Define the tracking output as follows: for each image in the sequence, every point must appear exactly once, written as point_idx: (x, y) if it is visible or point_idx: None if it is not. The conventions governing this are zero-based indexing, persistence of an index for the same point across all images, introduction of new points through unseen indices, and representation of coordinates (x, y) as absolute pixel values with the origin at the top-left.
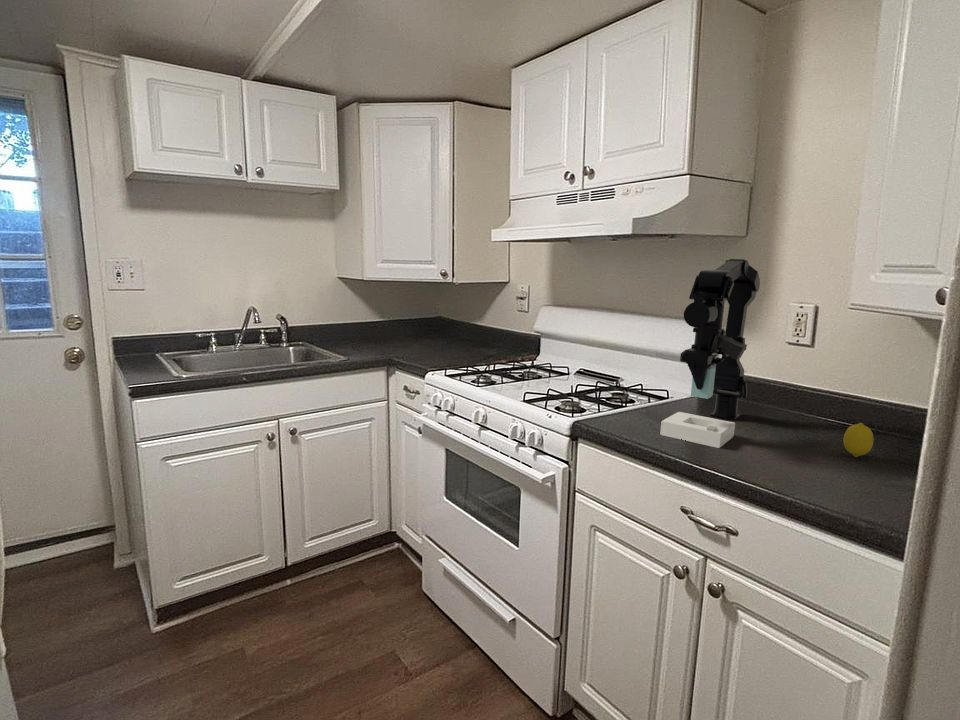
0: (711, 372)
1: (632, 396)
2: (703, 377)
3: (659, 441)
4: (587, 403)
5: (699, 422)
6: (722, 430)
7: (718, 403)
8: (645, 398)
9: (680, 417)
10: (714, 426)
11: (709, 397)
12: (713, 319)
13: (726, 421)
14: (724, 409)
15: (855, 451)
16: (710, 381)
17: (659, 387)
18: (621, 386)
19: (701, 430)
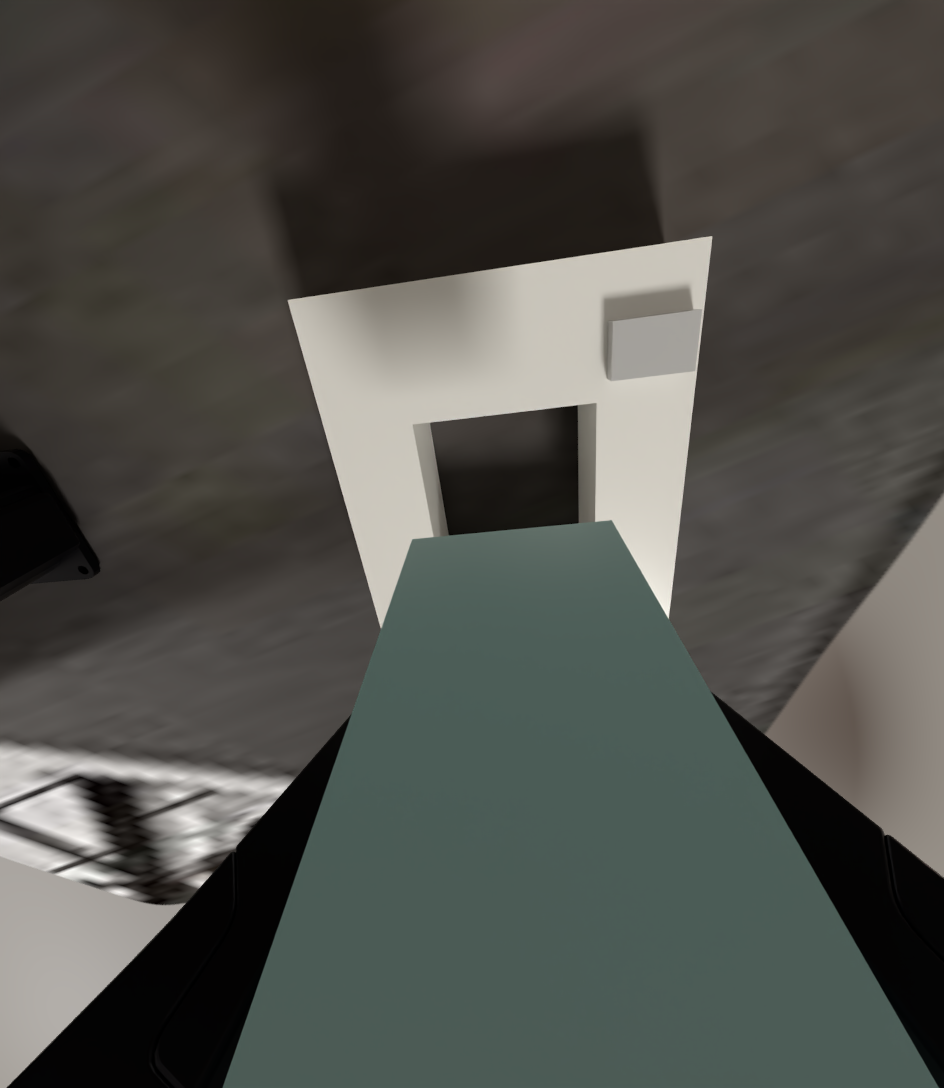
0: (703, 927)
1: (207, 844)
2: (873, 839)
3: (756, 549)
4: None
5: (433, 511)
6: (599, 272)
7: (9, 581)
8: (178, 815)
9: None
10: (533, 372)
11: (536, 529)
12: None
13: (320, 368)
14: (16, 528)
15: None
16: (620, 683)
17: None
18: (138, 898)
19: (688, 401)
